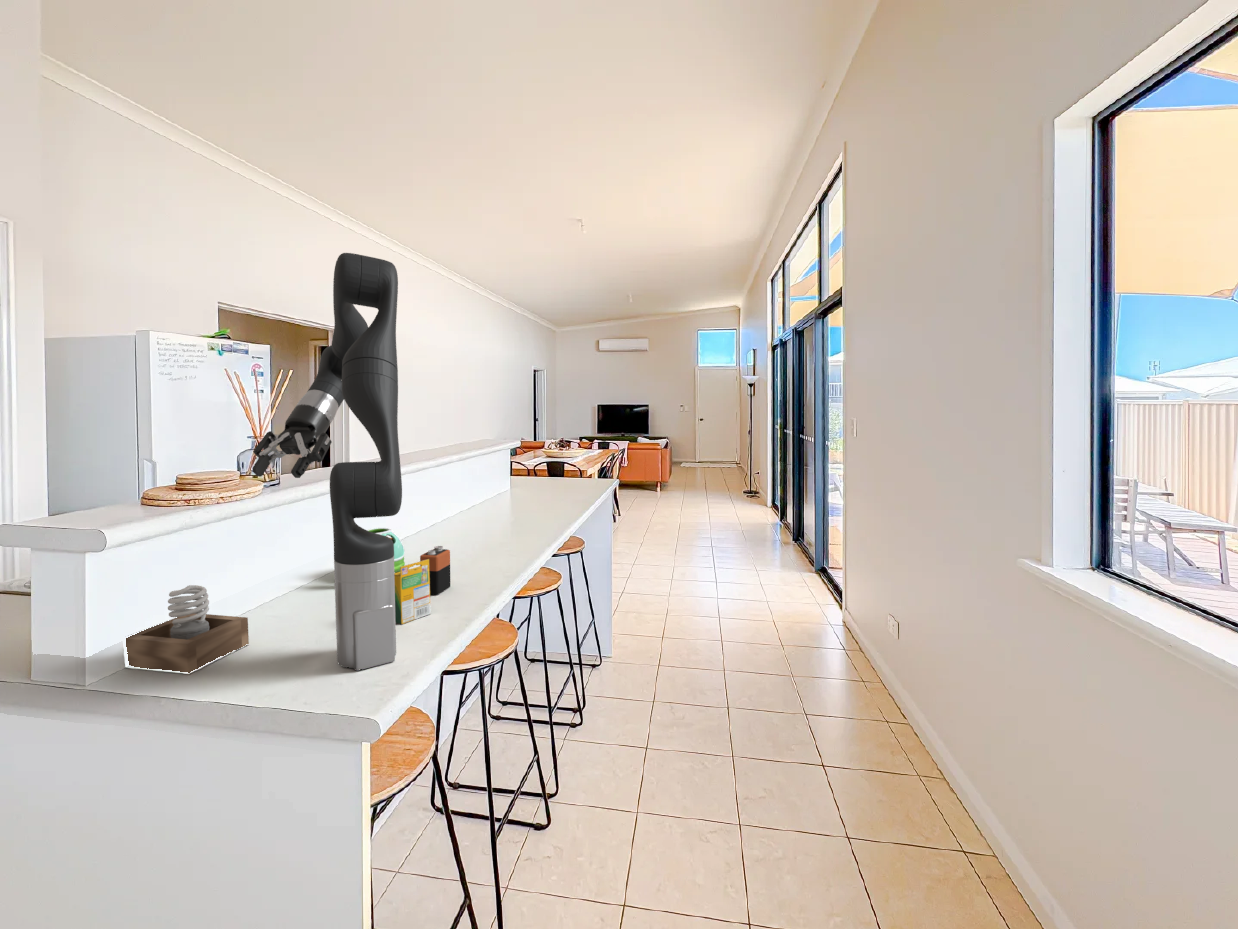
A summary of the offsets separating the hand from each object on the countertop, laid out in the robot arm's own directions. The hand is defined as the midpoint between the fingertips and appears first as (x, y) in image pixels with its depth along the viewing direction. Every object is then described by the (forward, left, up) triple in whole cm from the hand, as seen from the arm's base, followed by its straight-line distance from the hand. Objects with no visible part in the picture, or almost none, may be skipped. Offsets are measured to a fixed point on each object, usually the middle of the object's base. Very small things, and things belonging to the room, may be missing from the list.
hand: (275, 474), depth 116 cm
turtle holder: (+15, -23, -29) cm, 40 cm away
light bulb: (-12, +16, -29) cm, 35 cm away
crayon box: (-17, -20, -29) cm, 39 cm away
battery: (-3, -31, -29) cm, 43 cm away
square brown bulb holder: (-12, +16, -29) cm, 35 cm away
